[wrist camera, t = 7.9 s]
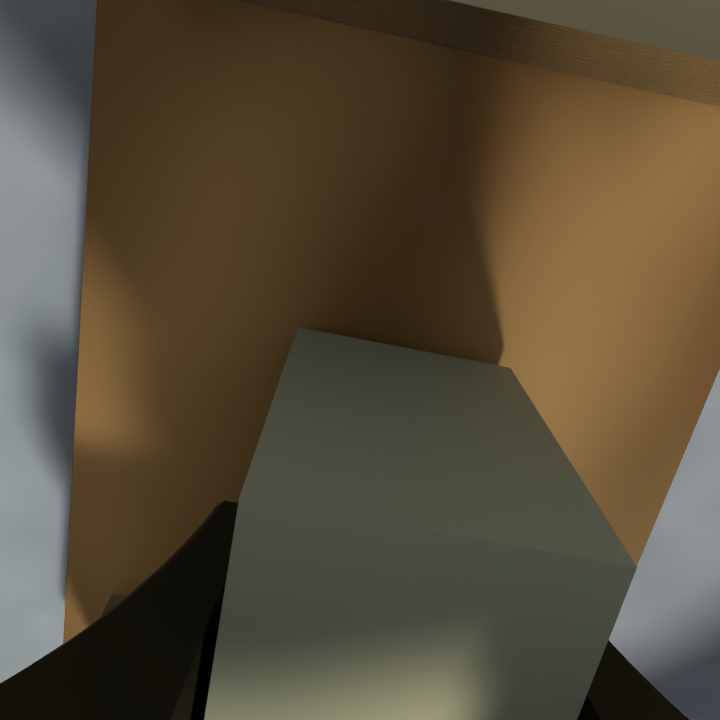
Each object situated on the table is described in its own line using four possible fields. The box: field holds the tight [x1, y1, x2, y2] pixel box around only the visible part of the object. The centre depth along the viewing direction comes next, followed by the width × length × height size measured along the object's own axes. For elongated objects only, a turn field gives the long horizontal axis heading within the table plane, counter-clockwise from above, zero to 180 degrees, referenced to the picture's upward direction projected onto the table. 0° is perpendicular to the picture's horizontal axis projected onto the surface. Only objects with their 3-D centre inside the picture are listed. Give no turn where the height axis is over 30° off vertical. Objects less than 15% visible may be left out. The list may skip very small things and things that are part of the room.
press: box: [63, 0, 720, 644], centre depth 10 cm, size 12×18×10 cm, turn 169°
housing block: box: [204, 327, 637, 720], centre depth 10 cm, size 4×6×6 cm, turn 169°
